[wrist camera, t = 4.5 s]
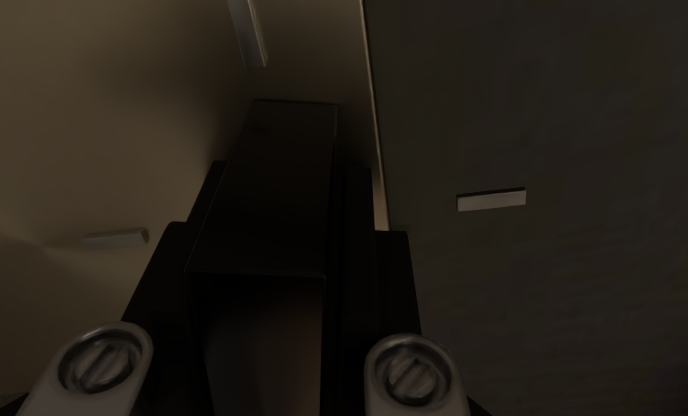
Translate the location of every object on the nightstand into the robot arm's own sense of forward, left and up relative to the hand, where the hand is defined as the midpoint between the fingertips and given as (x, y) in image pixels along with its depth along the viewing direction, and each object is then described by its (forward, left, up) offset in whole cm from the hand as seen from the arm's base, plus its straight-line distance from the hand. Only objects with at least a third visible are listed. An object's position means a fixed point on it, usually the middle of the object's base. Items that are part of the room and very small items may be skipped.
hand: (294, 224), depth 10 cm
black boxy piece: (0, 0, 0) cm, 0 cm away
